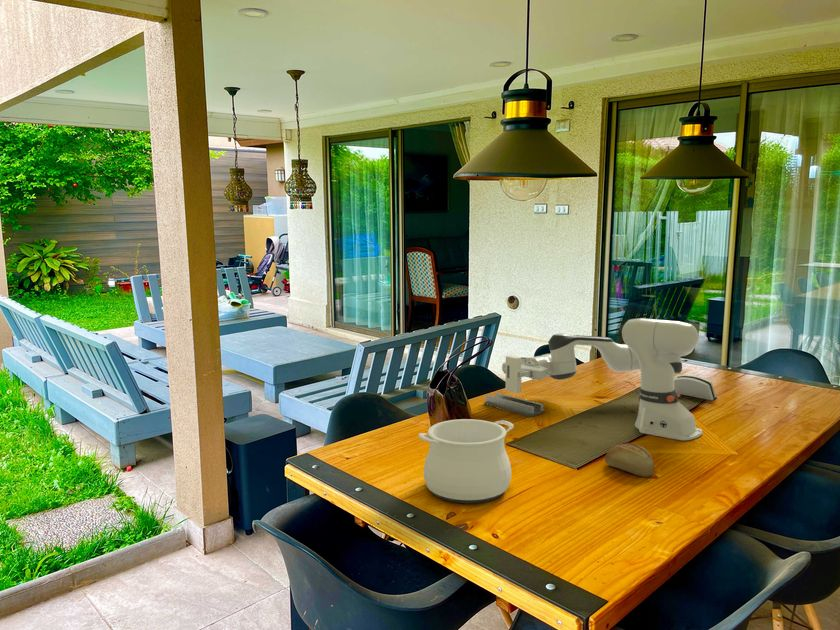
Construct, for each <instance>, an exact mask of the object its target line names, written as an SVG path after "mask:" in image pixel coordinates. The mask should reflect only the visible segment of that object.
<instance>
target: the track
mask: <svg viewBox="0 0 840 630" xmlns="http://www.w3.org/2000/svg"><path fill="white" fill-rule="evenodd" d="M485 397H486V398H485V401H483V405H485V404H488V405H491V406H490V407H492V406H494V407H493V408H495V407H498V408H497V409H499V408H501V409H500V410H503V409H504V411H506V410H508V412H510V411H511V413H513V412H514V414H518V415H521V416H525V417H529V418H531V417H534V416H537V415H541V414H543V413H546V410H545V409H544V403H540V402H536V401H531V400H529V399H523V398H520V397H516V396H513V395H508V394H503V393H500V392H495V393H494V396H493V395H490V394H487V395H486V396H485ZM488 405H487V406H488Z"/></svg>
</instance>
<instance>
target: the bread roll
mask: <svg viewBox="0 0 840 630" xmlns="http://www.w3.org/2000/svg"><path fill="white" fill-rule="evenodd" d="M604 461H605V463H606V464H607V465H608V466H609V467H613V468H616V469H619V470H621V471H624V472H628V473H630V474H634V475H636V476H638V477H643V478H646V477H647V478H648V477H650V476H652V475H653V474H654V471H655V464H654V460H653V458H652V455H651V453H650V452H649V451H648V450H647V449H646V447H644V446H642V445H640V444H638V443H632V442H622V443H619V444H616V445H614V446H613V447H611V448H610V449H609V450H607V452H606V454H605V457H604Z"/></svg>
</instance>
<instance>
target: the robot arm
mask: <svg viewBox="0 0 840 630" xmlns="http://www.w3.org/2000/svg"><path fill="white" fill-rule="evenodd" d="M621 330H622V331H621V337H622V340H623V342H624V343H622V344H621V343H617V342H615V341H614V340H613V338H611V337H607V336H606V337H604V336H595V335H580V334H579V335H577V334H576V335H574V334H570V333H569V334H568V333H564V332H559V333H555V334H552V336H551V337H550V338H549V340H548V347H549V351H550V353H545V354H541V355H537V356H530V357H526V356H525V357H521V356H520V357H521V372H518V377H521V378H530V379H531V380H543V379H547V378H548V377H550V378H552V379H554V380H559V381H560V380H562V381H563V380H567V379H569V378H573V377H574V376H575V375H576V373H577V372H578V371H577V360H576V354H575V353H576V352H575V347H576V346H590V347H595V348H596V349H597V350H598V351H599V353H600V355H601V356H602V359H603V360H604V362H605V363H606V365H607V366H608V367H609V369H611V370H612V371H615V372H631V371H638V370H640V387H639V391H638V400H639V403H638V404H639V405H638V411H637V417H636V419H635V423H634V427H635V428H636V429H637V430H638V431H639V433H640V434H645V435H651V436H656V437H662V438H665V439H666V438H667V439H671V440H677V441H691V440H695V439H697V438H699V437H700V436H702V435H703V430H702V429H701V428H698V427H696V420H695V416H694V414H693V413H692V412H691V411H689V410H688V409H687V407H685V406H684V404H682V403H681V402H680V401H679V397H681V395H682V394H681V393H679V394H678V393H676V392H675V390H674V381H675V376H676V377H677V375H679V374H681V373H682V371H683V362H682V358H681V357H685V356H687V355H689V354H691V353H692V352H693V351H694V349H695V348H697V345H698V343H699V332H698V330H697V328H696V326H694V325H693V324H690V323H687V322H683V321H679V320H666V319H657V318H654V319H653V318H644V317H640V318H631V319H628V320H627V321H626V322H625V323H624V325H623V327H622V329H621ZM501 365H502V366H501V369H502V372H503V374H505V375H506V361H503V362H502V364H501Z"/></svg>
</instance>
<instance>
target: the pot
mask: <svg viewBox="0 0 840 630" xmlns="http://www.w3.org/2000/svg"><path fill="white" fill-rule="evenodd" d="M502 425H505V426H508V428H507V429H506V428H505V427H503V426H502ZM514 428H515V427H514V424H513V423H512V422H510V421H507V420H503V419H501V420H497V421H494V422H492V421H488V420H484V419H472V418H471V419H469V418H468V419H467V418H462V419H450V420H445V421H441V422H437V423H435V424H433V425H432V426H430V427H429V428H428V431H427V433H425V432H419V433H418V435H417V436H418V438H419V439H420V440H421V441H422V442H425V443H429V447H428V448H429V450H428V452H427V455H426V457H425V460H424V464H423V480H424V481H425V482H424V483H425V484H426V487H427V489H428V490H429V491H430V492H431V493H432V494H433V495H435V496H436V497H438V498H440V499H441V500H444V501H448V502H450V503H456V504H469V505H470V504H472V505H473V504H480V503H485V502H489V501H490V502H491V501H492V500H494V499H495V500H496V499H497V498H499V497H500V496H502V495H503V494H504V493H505V492H506V491H507V489H509V485H510V483H511V480H512V466H511V461H510V459H509V458H510V457H509V455H508V454H507V453H508V452H507V450H506V448H505V446H506V445H505V437H506V436H507V434H508V432H510V431H511V430H513V429H514Z"/></svg>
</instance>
